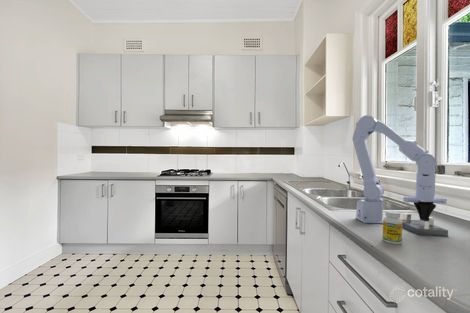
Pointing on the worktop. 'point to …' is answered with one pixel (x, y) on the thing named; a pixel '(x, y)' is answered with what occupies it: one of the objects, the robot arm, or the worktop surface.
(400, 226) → the supplement bottle
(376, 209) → the robot arm
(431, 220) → the white slider knob
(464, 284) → the worktop surface
